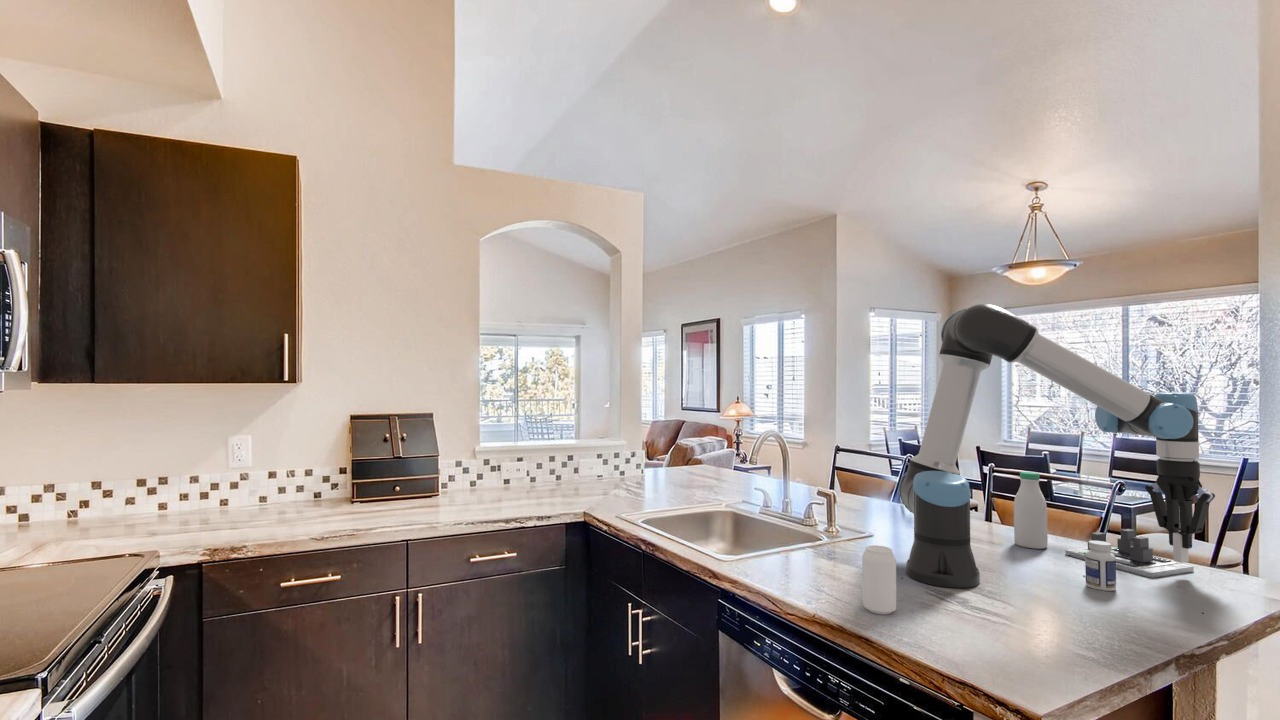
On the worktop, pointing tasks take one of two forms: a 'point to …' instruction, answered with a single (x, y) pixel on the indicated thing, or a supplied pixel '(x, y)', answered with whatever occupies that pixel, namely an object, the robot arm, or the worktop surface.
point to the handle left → (1097, 537)
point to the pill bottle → (1100, 566)
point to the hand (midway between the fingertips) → (1181, 561)
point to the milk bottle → (1030, 513)
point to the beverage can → (879, 580)
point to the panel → (1139, 564)
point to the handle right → (1126, 540)
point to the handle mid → (1141, 550)
